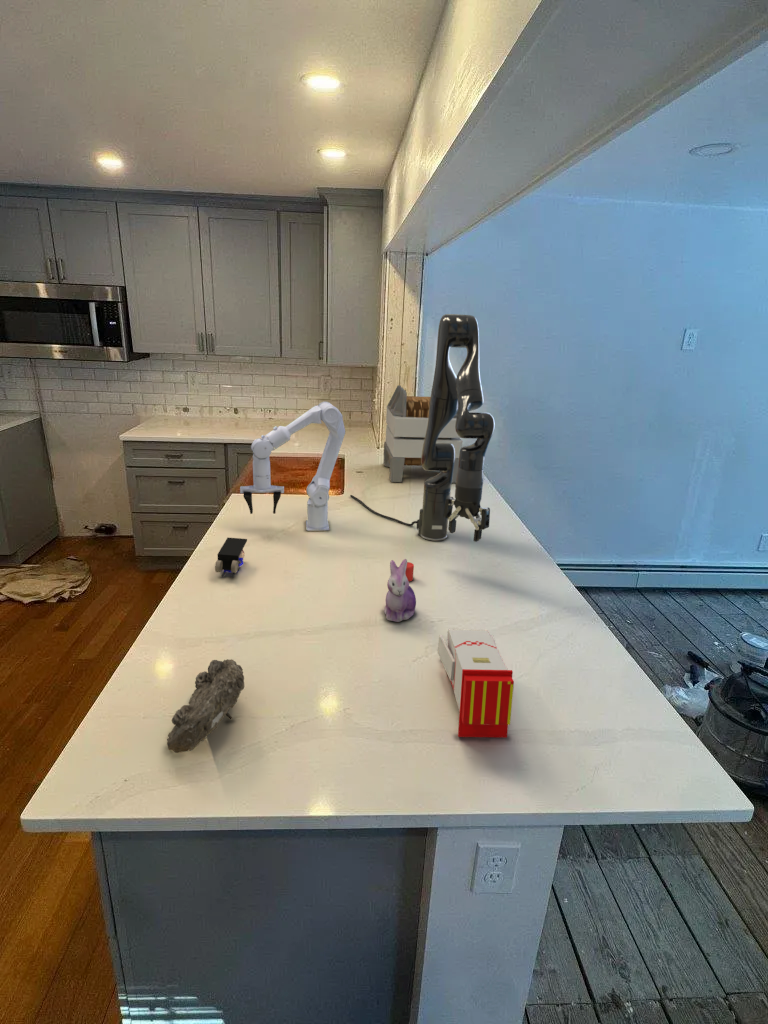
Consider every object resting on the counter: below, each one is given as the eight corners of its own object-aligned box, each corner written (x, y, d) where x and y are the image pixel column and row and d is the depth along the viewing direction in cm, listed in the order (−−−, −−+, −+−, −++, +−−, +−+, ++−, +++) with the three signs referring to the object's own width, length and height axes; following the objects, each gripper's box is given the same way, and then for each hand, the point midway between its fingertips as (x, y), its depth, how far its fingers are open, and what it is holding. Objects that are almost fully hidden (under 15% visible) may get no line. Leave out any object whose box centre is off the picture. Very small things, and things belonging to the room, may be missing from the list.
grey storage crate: (382, 463, 289) (386, 382, 275) (445, 464, 293) (451, 384, 279) (390, 482, 257) (394, 392, 243) (460, 483, 261) (468, 394, 247)
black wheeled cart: (238, 584, 162) (249, 557, 175) (236, 562, 158) (247, 536, 172) (215, 584, 161) (227, 556, 175) (212, 561, 158) (225, 535, 171)
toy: (488, 613, 130) (523, 677, 101) (484, 667, 133) (517, 744, 104) (435, 612, 130) (455, 676, 101) (432, 666, 133) (451, 743, 103)
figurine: (392, 627, 141) (395, 572, 136) (374, 608, 149) (376, 556, 144) (425, 619, 145) (429, 566, 140) (405, 601, 154) (408, 550, 149)
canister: (412, 582, 165) (413, 567, 164) (399, 581, 165) (400, 567, 164) (412, 576, 169) (413, 562, 167) (400, 575, 169) (400, 561, 167)
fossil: (192, 660, 117) (244, 628, 112) (224, 691, 120) (276, 661, 115) (142, 746, 98) (202, 712, 93) (182, 779, 101) (242, 748, 96)
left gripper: (238, 478, 185) (240, 517, 190) (283, 478, 187) (284, 516, 192) (240, 472, 192) (242, 509, 196) (283, 472, 194) (284, 509, 199)
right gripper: (441, 480, 162) (437, 533, 167) (483, 491, 153) (477, 547, 158) (456, 475, 167) (452, 527, 172) (498, 486, 158) (492, 540, 163)
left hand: (263, 512), depth 195 cm, fingers open, 7 cm apart
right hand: (464, 536), depth 165 cm, fingers open, 8 cm apart
